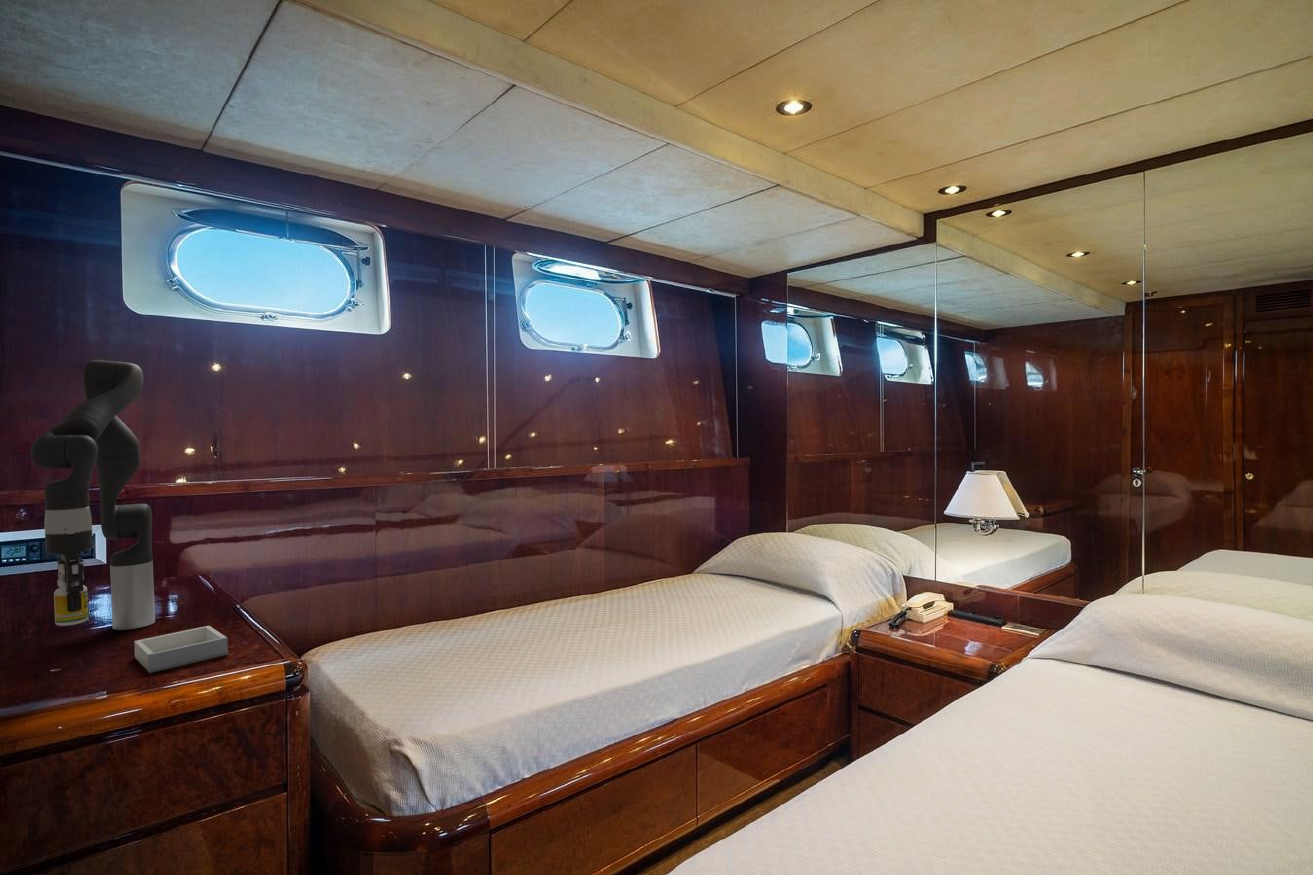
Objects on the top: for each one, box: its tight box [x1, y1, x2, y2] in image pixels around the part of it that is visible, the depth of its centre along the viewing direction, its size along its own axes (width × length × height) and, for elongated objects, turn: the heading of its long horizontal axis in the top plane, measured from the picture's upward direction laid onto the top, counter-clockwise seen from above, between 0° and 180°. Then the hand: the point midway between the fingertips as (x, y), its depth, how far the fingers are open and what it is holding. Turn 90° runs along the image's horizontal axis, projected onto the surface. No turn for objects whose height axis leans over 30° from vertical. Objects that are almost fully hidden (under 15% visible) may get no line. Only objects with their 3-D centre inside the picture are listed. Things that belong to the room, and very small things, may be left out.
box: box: [134, 625, 229, 674], centre depth 157 cm, size 15×15×4 cm
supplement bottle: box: [53, 578, 89, 627], centre depth 142 cm, size 5×5×10 cm
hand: (72, 608), depth 142 cm, fingers closed on supplement bottle, 5 cm apart
